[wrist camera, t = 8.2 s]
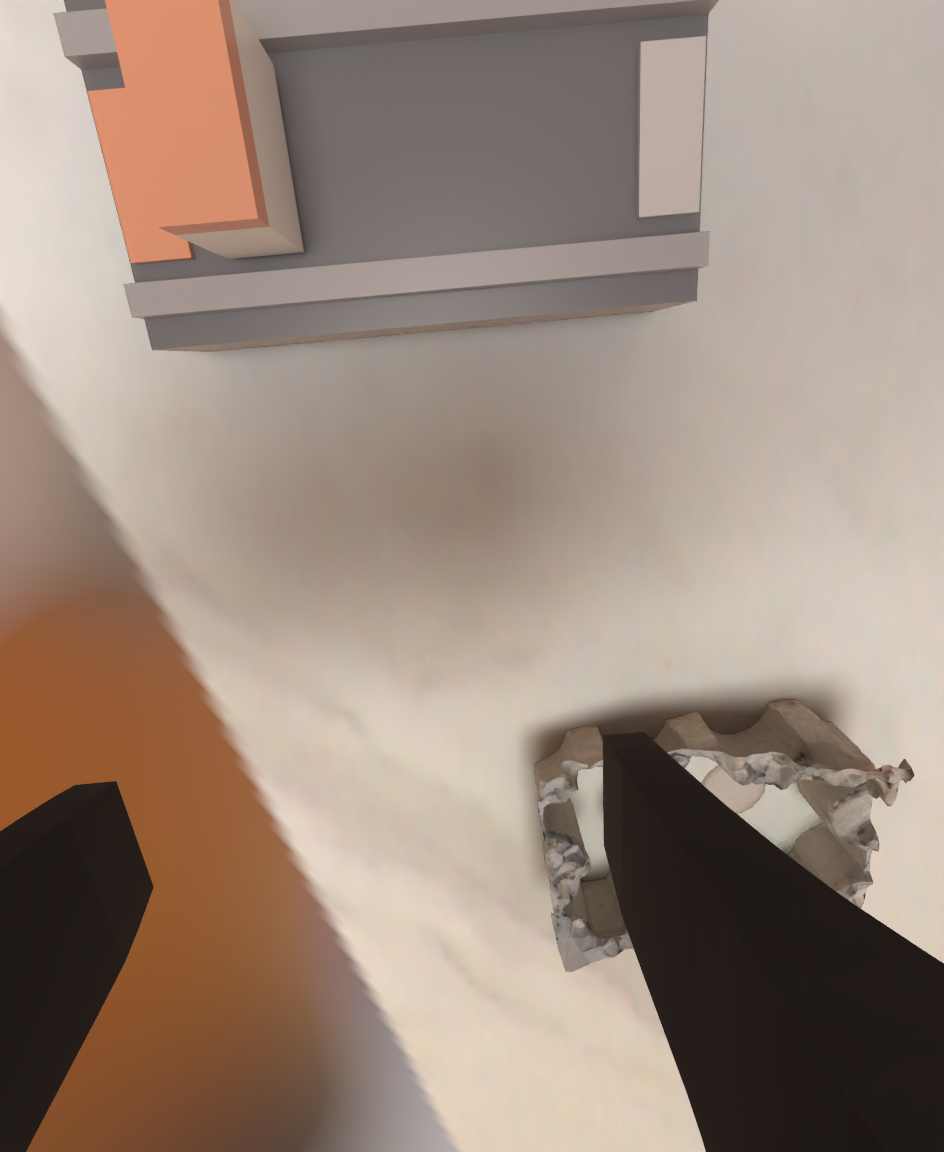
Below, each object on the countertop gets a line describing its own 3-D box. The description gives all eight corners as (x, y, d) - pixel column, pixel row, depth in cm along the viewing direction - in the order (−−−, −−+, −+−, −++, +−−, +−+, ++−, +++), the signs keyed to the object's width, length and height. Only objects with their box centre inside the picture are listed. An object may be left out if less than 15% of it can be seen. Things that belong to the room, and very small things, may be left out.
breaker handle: (273, 64, 11) (211, -42, 8) (303, 252, 12) (257, 218, 9) (190, 72, 11) (97, -30, 8) (228, 259, 12) (157, 227, 9)
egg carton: (843, 683, 20) (939, 760, 16) (817, 859, 22) (894, 962, 19) (525, 713, 20) (544, 798, 16) (534, 886, 22) (553, 996, 18)
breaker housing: (656, 19, 13) (724, -92, 10) (651, 311, 15) (706, 298, 12) (142, 64, 13) (41, -32, 10) (207, 351, 15) (140, 349, 12)
